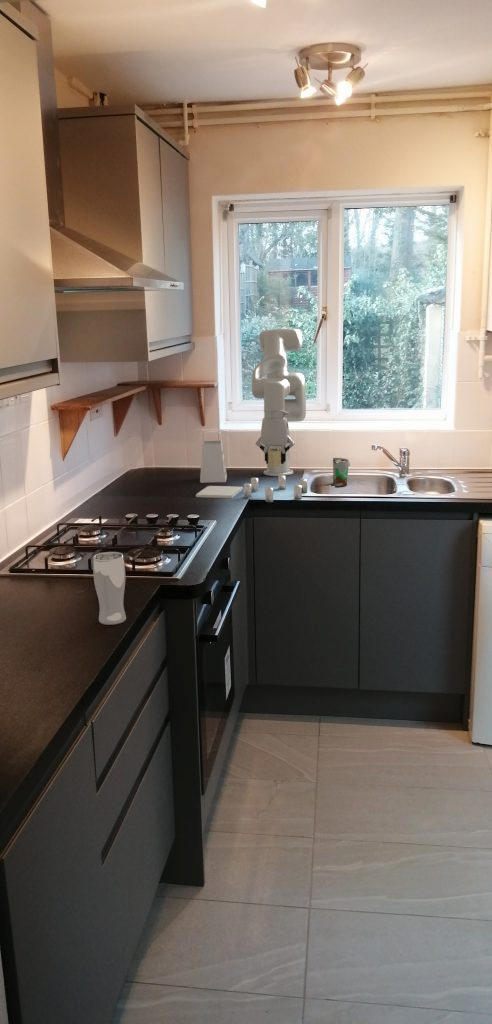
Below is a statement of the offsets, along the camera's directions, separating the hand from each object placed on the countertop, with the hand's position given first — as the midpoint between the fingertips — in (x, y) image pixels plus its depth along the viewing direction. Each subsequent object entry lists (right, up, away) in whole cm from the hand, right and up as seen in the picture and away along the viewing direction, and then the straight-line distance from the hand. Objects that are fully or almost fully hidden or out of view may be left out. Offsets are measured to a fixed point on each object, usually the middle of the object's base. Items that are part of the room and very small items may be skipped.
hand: (275, 462), depth 304 cm
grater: (-24, -5, +34) cm, 42 cm away
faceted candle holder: (0, -1, 0) cm, 1 cm away
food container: (+27, -8, +17) cm, 33 cm away
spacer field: (0, -12, +2) cm, 12 cm away
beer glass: (-41, -43, -121) cm, 134 cm away
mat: (-21, -11, +8) cm, 25 cm away
